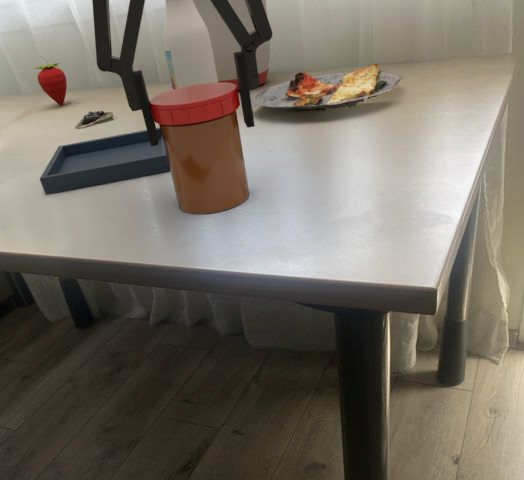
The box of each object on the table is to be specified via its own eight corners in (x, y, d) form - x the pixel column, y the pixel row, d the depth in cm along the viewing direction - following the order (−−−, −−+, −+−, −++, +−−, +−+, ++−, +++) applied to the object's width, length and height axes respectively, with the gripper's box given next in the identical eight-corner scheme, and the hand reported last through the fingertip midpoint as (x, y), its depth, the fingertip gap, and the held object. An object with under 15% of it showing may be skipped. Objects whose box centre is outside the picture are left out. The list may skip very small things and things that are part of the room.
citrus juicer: (197, 85, 116) (176, -26, 104) (276, 73, 114) (264, -41, 102) (187, 101, 103) (161, -23, 92) (275, 89, 101) (260, -40, 90)
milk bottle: (230, 109, 93) (208, -30, 81) (209, 122, 88) (182, -24, 76) (193, 110, 97) (167, -23, 85) (171, 123, 91) (139, -17, 79)
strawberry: (47, 111, 116) (28, 60, 110) (48, 105, 122) (31, 56, 116) (74, 105, 117) (57, 54, 111) (74, 99, 123) (58, 51, 117)
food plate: (286, 87, 102) (284, 66, 99) (411, 78, 93) (411, 56, 91) (234, 125, 84) (230, 102, 82) (382, 119, 75) (382, 92, 73)
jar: (179, 219, 56) (154, 114, 50) (177, 193, 62) (155, 97, 56) (253, 205, 56) (237, 99, 50) (244, 181, 63) (229, 84, 56)
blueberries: (121, 116, 101) (118, 105, 100) (90, 129, 96) (86, 118, 95) (97, 115, 105) (94, 105, 103) (66, 128, 100) (62, 117, 98)
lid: (153, 131, 50) (148, 110, 49) (154, 110, 57) (150, 92, 56) (244, 114, 51) (241, 93, 49) (234, 96, 58) (231, 78, 57)
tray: (45, 194, 69) (39, 178, 68) (63, 160, 82) (58, 146, 80) (171, 170, 70) (167, 154, 69) (169, 140, 82) (166, 126, 81)
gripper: (-10, -148, 38) (93, 163, 52) (287, -199, 39) (313, 121, 52) (14, -132, 44) (101, 143, 58) (270, -176, 45) (298, 105, 58)
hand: (202, 132), depth 55 cm, fingers open, 9 cm apart
